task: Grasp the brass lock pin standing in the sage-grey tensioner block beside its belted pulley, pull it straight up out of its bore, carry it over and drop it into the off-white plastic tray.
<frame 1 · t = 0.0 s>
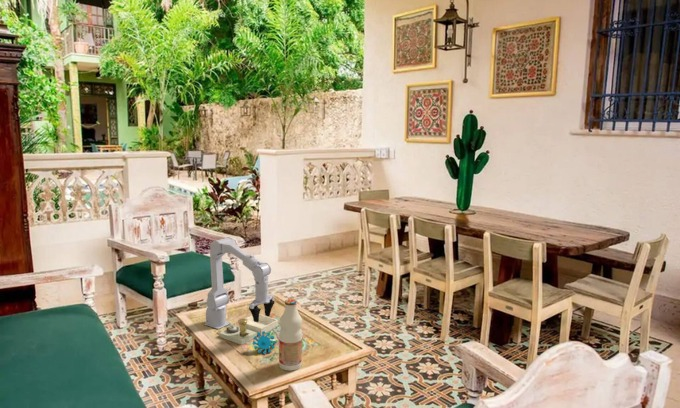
hand: (261, 318, 212), 10 cm above the table, tool pointing down, fingers open, 7 cm apart
gear: (265, 351, 204), on the table
fruit juice: (290, 365, 192), on the table
lock pin: (243, 338, 215), resting in tensioner block
tray: (258, 327, 227), on the table
tensioner block: (243, 338, 215), on the table
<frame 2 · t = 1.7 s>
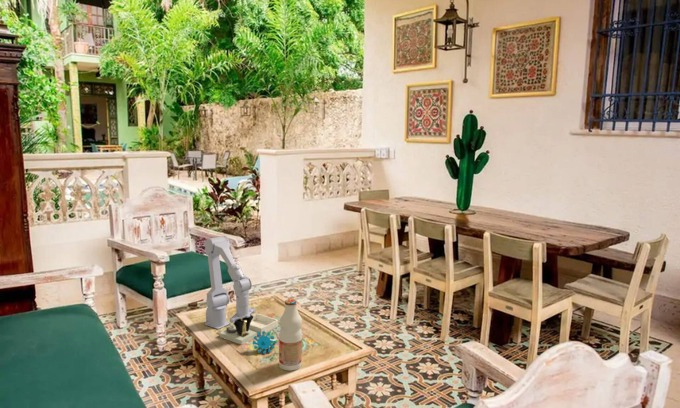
hand: (242, 332, 214), 3 cm above the table, tool pointing down, fingers closed on lock pin, 4 cm apart
lock pin: (243, 338, 215), resting in tensioner block, touching gripper
everything else where it was.
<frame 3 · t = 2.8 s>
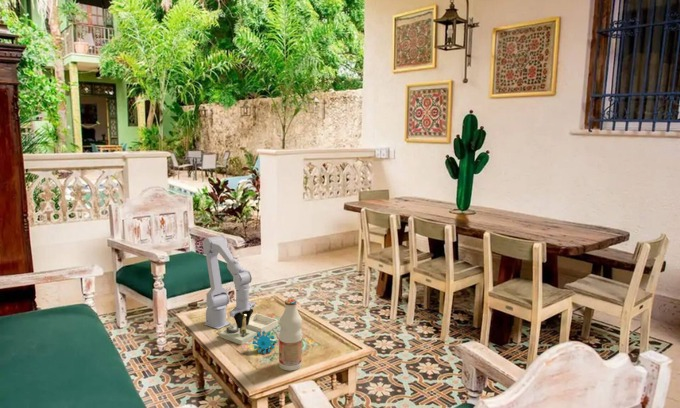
hand: (242, 326, 214), 6 cm above the table, tool pointing down, fingers closed on lock pin, 4 cm apart
lock pin: (242, 332, 214), point 3 cm above the table, touching gripper
everything else where it was.
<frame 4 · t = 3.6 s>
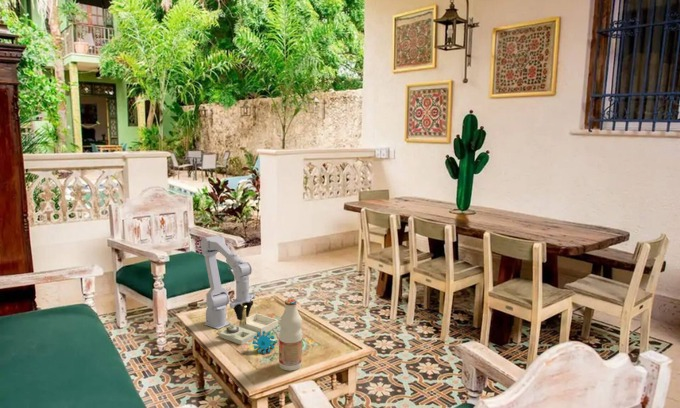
hand: (242, 318, 213), 10 cm above the table, tool pointing down, fingers closed on lock pin, 4 cm apart
lock pin: (242, 324, 214), point 7 cm above the table, touching gripper
everything else where it was.
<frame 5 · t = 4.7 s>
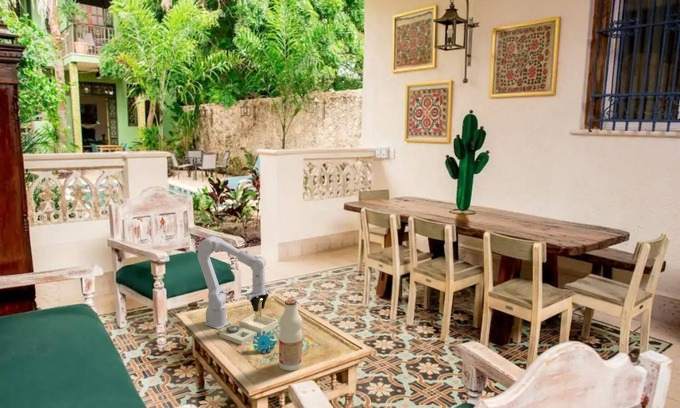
hand: (258, 309, 225), 9 cm above the table, tool pointing down, fingers closed on lock pin, 4 cm apart
lock pin: (258, 316, 225), point 6 cm above the table, touching gripper
everything else where it was.
when the fingers open (5 cm above the table, at t = 5.7 s): lock pin drops 1 cm, resting on tray.
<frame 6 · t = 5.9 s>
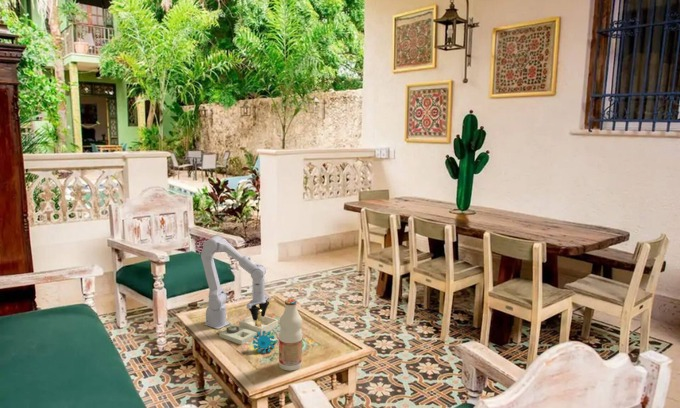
hand: (258, 317, 226), 5 cm above the table, tool pointing down, fingers open, 5 cm apart
lock pin: (258, 326, 226), point 1 cm above the table, touching gripper, tray
everything else where it was.
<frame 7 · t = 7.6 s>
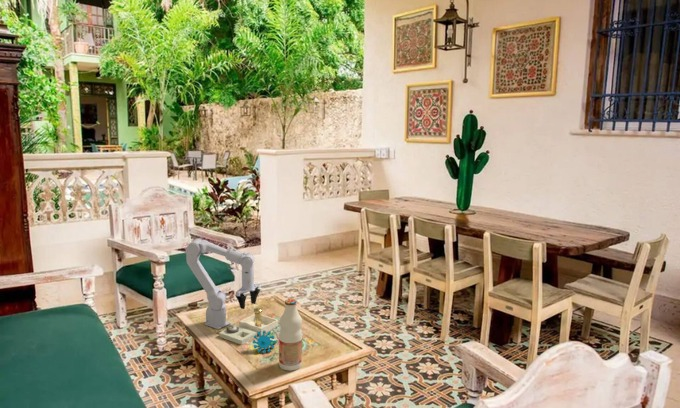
hand: (247, 305, 228), 10 cm above the table, tool pointing down, fingers open, 7 cm apart
lock pin: (258, 326, 226), point 1 cm above the table, touching tray
everything else where it was.
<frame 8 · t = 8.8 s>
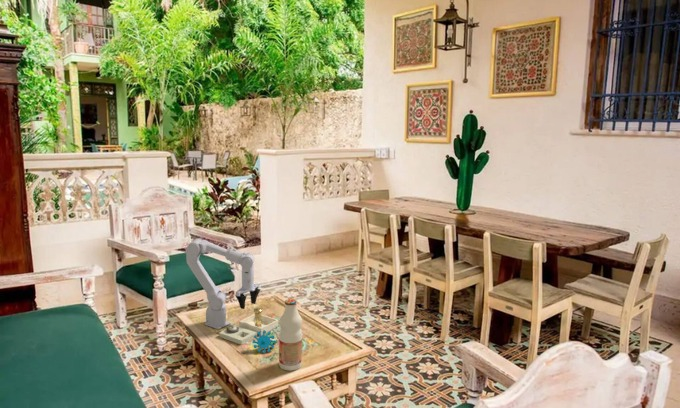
hand: (247, 305, 228), 10 cm above the table, tool pointing down, fingers open, 7 cm apart
nothing on the table moved.
at the end: lock pin inside the target area on the tray (0.5 cm from its centre), point 0.5 cm above the tray's base; the gripper is holding nothing; lock pin moved 12.6 cm from its start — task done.
